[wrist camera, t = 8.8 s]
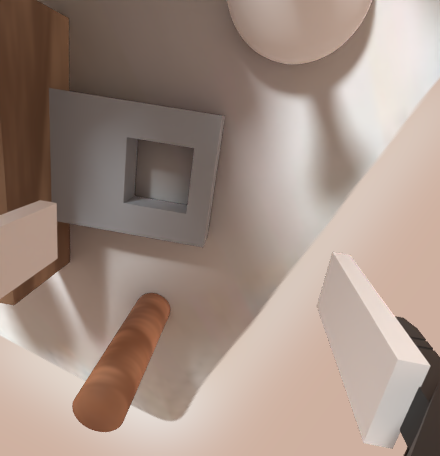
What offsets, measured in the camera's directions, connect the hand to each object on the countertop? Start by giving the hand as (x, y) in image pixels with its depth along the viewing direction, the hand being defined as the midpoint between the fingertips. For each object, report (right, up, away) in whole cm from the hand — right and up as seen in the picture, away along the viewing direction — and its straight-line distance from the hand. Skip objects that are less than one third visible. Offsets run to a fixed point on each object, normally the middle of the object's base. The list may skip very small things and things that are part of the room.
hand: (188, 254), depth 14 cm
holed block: (-6, +7, +18) cm, 20 cm away
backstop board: (-15, +9, +18) cm, 25 cm away
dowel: (-6, -8, +23) cm, 25 cm away
